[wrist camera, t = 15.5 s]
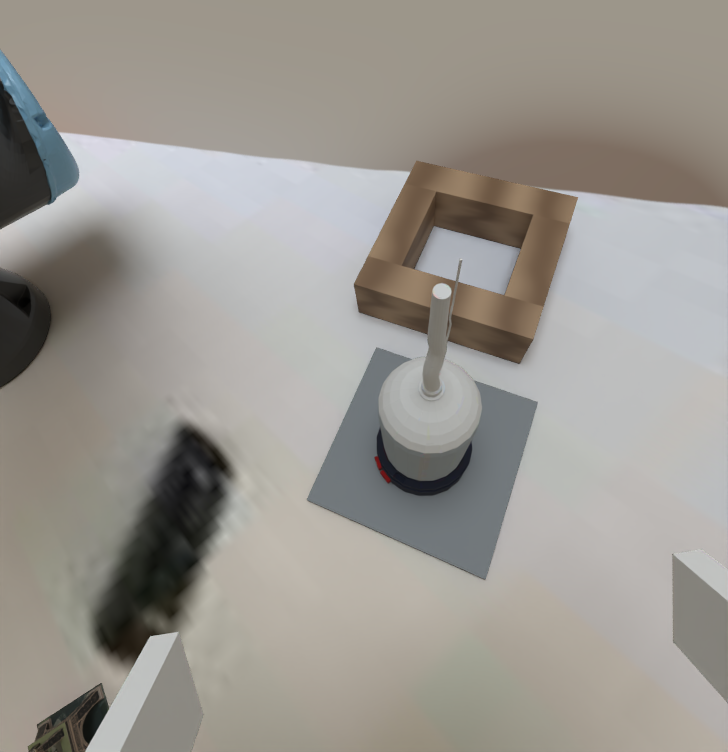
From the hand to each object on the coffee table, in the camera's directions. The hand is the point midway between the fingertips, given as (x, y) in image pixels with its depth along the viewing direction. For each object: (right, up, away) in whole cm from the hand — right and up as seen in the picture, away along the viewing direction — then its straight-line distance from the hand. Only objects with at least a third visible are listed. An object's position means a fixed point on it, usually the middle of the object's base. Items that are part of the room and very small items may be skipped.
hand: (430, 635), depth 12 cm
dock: (+9, +18, +35) cm, 41 cm away
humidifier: (+3, 0, +28) cm, 28 cm away
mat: (+4, 0, +28) cm, 28 cm away
